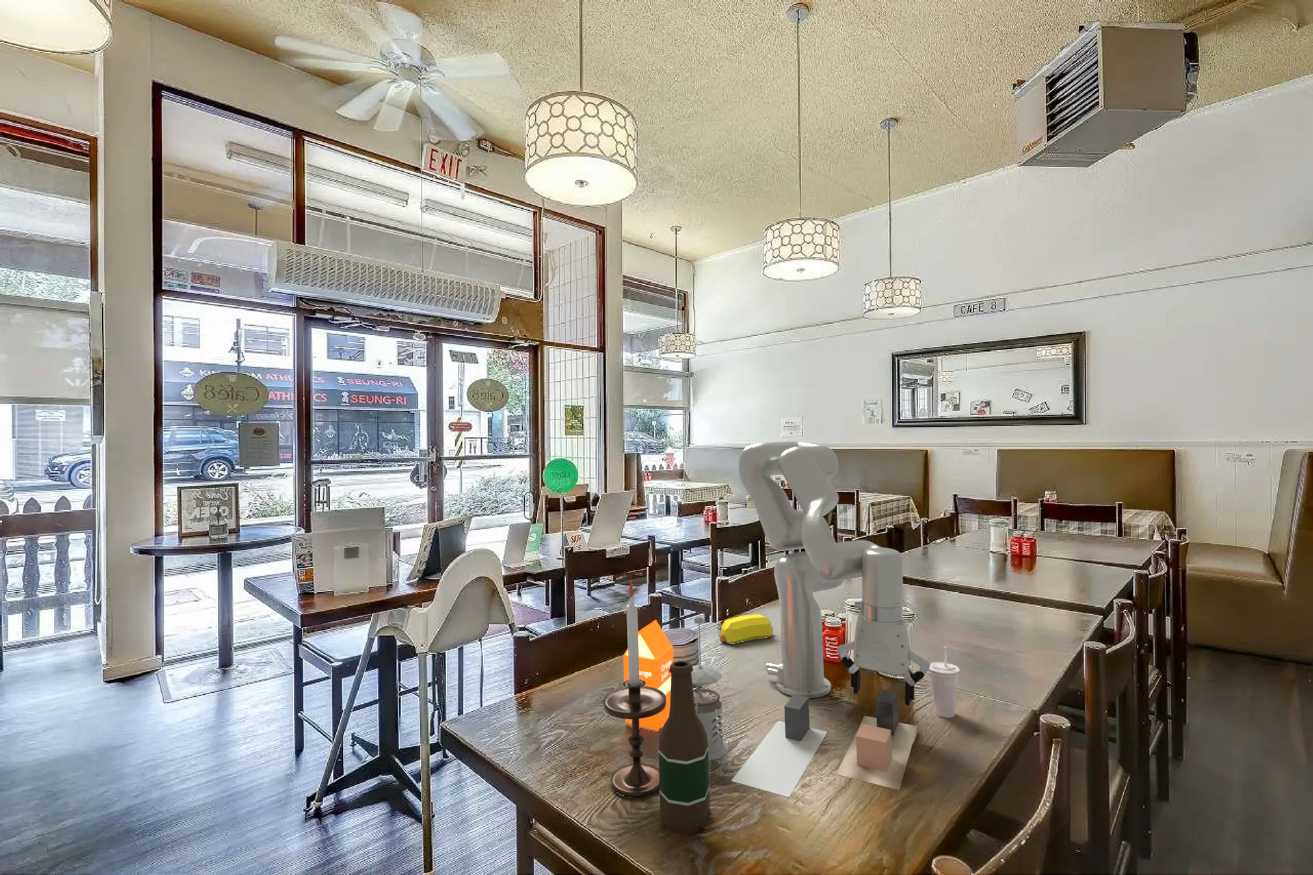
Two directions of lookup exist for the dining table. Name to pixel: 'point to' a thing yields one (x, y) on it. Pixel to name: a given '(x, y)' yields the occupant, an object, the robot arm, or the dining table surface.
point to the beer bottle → (683, 758)
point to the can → (684, 645)
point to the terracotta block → (874, 747)
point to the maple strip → (900, 742)
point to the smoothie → (944, 686)
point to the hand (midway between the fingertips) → (881, 696)
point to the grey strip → (783, 751)
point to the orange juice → (653, 669)
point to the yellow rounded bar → (745, 628)
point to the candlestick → (635, 717)
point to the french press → (708, 705)
